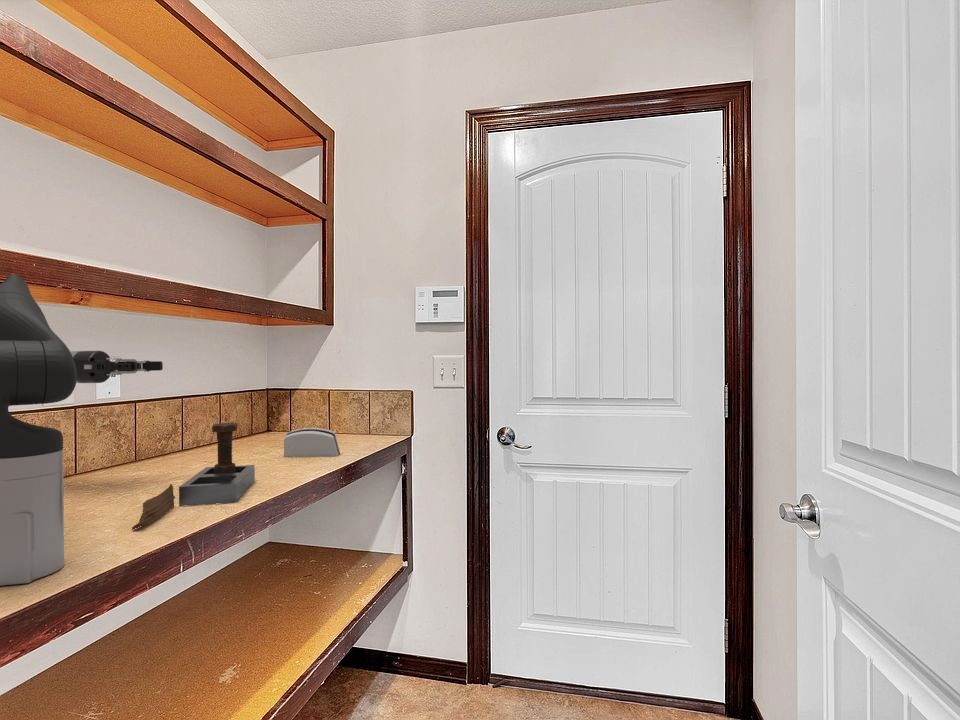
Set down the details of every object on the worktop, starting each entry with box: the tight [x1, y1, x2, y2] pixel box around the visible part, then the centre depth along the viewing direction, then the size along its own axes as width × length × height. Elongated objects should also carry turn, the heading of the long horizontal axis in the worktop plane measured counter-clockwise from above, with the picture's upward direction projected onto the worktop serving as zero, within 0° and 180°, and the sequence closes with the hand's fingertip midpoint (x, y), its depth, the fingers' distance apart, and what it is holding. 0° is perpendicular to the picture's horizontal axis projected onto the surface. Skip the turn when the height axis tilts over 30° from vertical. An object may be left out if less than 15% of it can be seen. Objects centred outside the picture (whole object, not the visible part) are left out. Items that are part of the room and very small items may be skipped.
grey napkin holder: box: [283, 427, 341, 458], centre depth 163 cm, size 17×5×10 cm, turn 93°
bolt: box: [211, 422, 238, 474], centre depth 124 cm, size 6×5×15 cm
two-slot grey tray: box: [178, 464, 256, 507], centre depth 120 cm, size 20×11×4 cm, turn 13°
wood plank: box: [131, 483, 176, 531], centre depth 101 cm, size 15×2×5 cm, turn 11°
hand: (149, 366), depth 121 cm, fingers open, 8 cm apart
